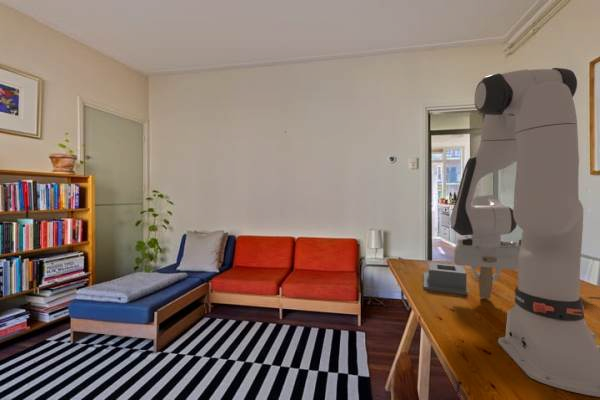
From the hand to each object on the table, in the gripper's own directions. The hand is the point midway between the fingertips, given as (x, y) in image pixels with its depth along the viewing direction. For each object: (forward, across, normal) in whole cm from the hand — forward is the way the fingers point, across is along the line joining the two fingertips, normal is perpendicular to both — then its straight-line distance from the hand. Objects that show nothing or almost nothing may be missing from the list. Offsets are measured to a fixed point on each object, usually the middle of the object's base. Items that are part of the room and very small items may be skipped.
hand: (485, 279), depth 100 cm
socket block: (+7, +13, -13) cm, 20 cm away
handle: (+7, 0, 0) cm, 7 cm away
